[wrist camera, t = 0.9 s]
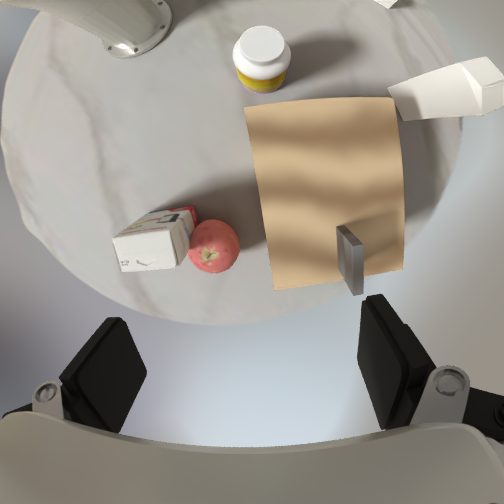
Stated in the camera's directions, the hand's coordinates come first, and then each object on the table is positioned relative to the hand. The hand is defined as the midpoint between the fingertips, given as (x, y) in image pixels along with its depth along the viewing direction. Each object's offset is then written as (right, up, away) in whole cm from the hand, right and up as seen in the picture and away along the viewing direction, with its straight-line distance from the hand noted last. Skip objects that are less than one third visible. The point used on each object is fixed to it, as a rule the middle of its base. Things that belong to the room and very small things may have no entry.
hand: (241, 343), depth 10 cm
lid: (+9, +10, +18) cm, 22 cm away
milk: (+25, +28, +23) cm, 44 cm away
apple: (-5, +6, +33) cm, 34 cm away
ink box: (-12, +8, +32) cm, 35 cm away
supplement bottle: (+2, +29, +24) cm, 37 cm away
